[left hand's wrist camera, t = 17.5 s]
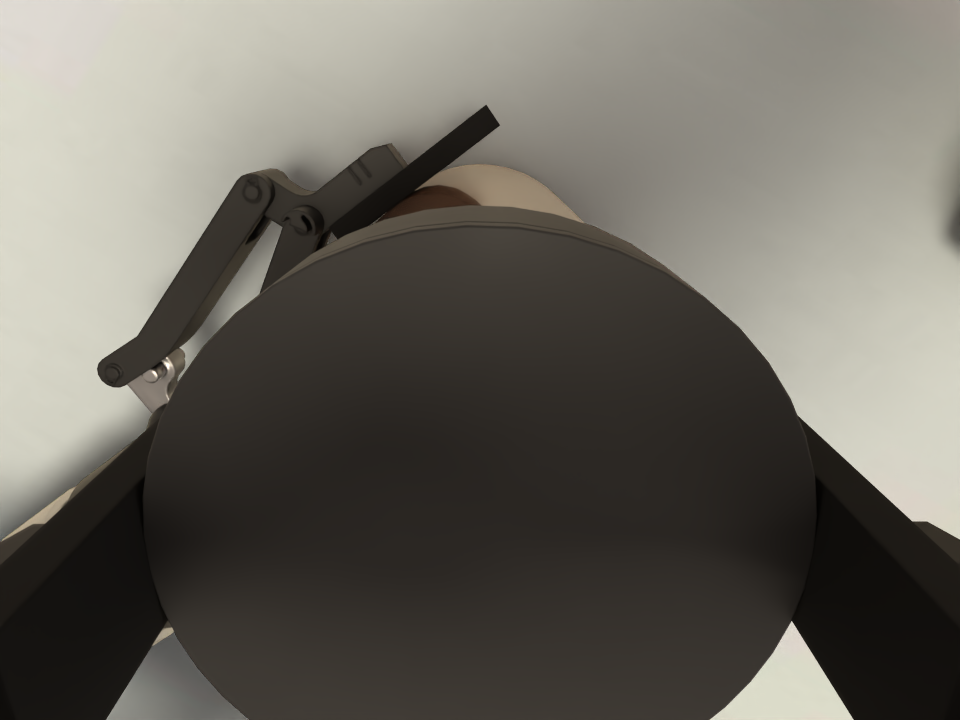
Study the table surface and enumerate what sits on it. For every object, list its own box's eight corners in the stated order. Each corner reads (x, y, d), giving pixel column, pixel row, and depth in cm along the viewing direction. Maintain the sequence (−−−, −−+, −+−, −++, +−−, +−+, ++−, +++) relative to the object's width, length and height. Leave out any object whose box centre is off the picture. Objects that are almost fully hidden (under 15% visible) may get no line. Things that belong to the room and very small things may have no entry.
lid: (91, 499, 13) (12, 575, 10) (462, 57, 10) (458, 39, 8) (491, 769, 15) (492, 875, 13) (873, 475, 12) (955, 548, 10)
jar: (605, 178, 28) (843, 286, 10) (567, 385, 32) (692, 758, 13) (380, 150, 28) (182, 206, 9) (366, 363, 31) (200, 715, 13)
